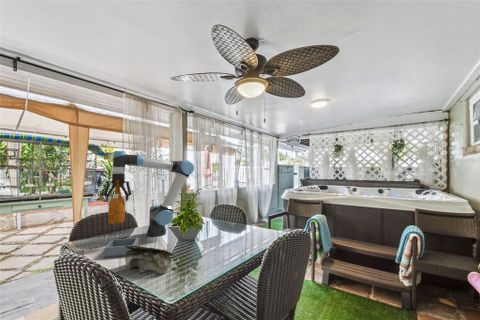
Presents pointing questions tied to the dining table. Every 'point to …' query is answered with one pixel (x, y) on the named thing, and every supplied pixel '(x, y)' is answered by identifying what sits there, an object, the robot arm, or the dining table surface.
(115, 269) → the dining table surface
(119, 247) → the crate
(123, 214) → the wine bottle
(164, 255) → the hollow geode rock
